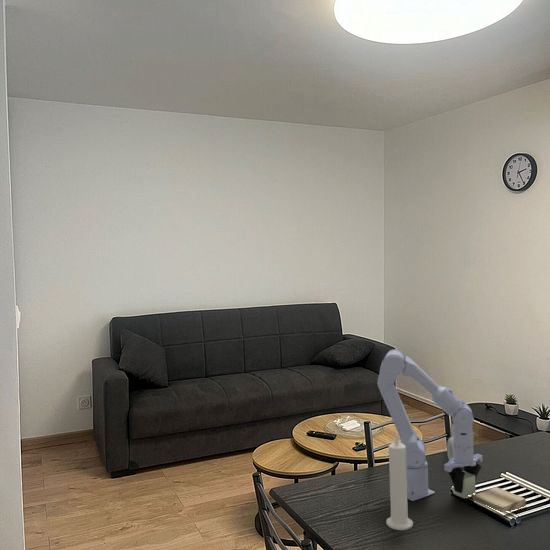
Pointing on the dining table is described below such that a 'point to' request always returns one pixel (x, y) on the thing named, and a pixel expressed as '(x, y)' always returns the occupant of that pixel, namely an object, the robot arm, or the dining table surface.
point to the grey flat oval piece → (450, 448)
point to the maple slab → (500, 499)
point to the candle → (398, 487)
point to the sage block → (466, 485)
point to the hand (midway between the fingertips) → (464, 489)
